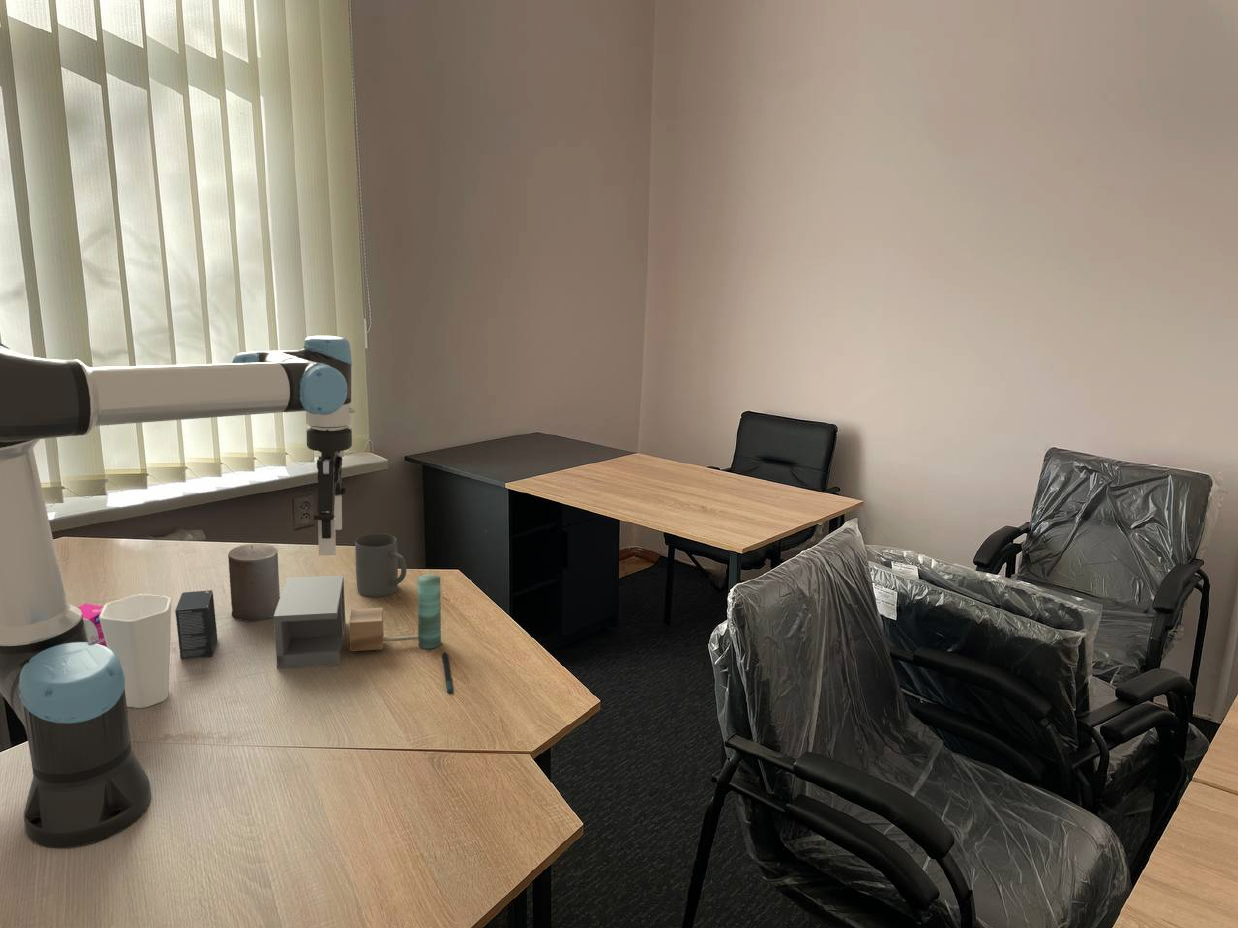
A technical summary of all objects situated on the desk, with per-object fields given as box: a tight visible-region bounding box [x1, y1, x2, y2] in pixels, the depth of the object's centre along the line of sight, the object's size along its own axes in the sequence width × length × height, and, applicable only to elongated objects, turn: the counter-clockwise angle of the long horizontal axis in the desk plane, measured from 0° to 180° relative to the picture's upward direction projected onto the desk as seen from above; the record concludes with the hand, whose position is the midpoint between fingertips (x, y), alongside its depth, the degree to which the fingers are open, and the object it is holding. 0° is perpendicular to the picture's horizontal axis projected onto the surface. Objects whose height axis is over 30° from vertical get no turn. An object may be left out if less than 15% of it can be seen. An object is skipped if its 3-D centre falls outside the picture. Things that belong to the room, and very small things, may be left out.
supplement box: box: [76, 603, 107, 647], centre depth 157 cm, size 6×6×12 cm
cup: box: [99, 593, 172, 709], centre depth 148 cm, size 11×10×17 cm
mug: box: [354, 532, 407, 598], centre depth 195 cm, size 14×9×12 cm
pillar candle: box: [227, 543, 281, 622], centre depth 182 cm, size 10×10×15 cm
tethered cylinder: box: [348, 574, 442, 652], centre depth 170 cm, size 6×17×14 cm, turn 103°
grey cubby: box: [273, 574, 346, 669], centre depth 170 cm, size 18×11×11 cm, turn 13°
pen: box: [442, 651, 454, 695], centre depth 163 cm, size 1×16×1 cm, turn 15°
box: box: [174, 589, 218, 661], centre depth 166 cm, size 8×6×11 cm
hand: (330, 541), depth 156 cm, fingers open, 13 cm apart
